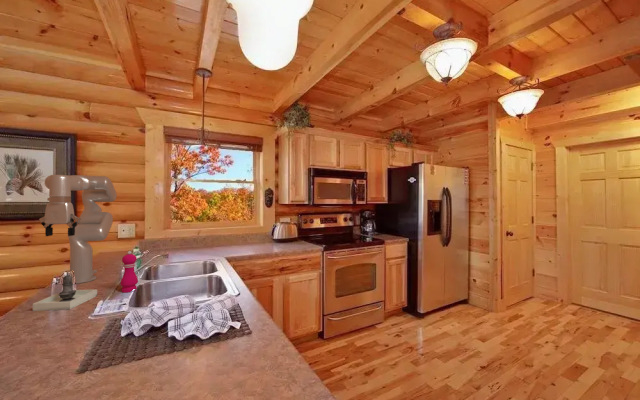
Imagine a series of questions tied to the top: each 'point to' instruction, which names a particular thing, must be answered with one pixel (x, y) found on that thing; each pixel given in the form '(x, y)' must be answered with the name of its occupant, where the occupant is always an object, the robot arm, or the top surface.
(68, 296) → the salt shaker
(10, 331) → the top surface
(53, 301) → the tray
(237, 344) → the top surface
